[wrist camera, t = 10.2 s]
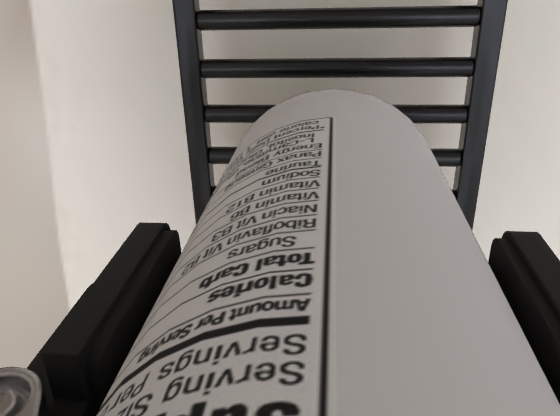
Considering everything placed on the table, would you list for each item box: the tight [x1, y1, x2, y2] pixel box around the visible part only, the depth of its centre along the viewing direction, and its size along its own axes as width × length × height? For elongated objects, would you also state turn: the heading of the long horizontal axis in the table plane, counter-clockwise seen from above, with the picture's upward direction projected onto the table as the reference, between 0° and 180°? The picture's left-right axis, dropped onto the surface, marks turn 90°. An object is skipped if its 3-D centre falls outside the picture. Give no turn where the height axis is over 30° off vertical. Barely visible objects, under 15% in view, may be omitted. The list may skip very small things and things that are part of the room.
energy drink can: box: [96, 89, 560, 416], centre depth 9 cm, size 6×6×15 cm
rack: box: [172, 0, 508, 230], centre depth 20 cm, size 14×10×5 cm
